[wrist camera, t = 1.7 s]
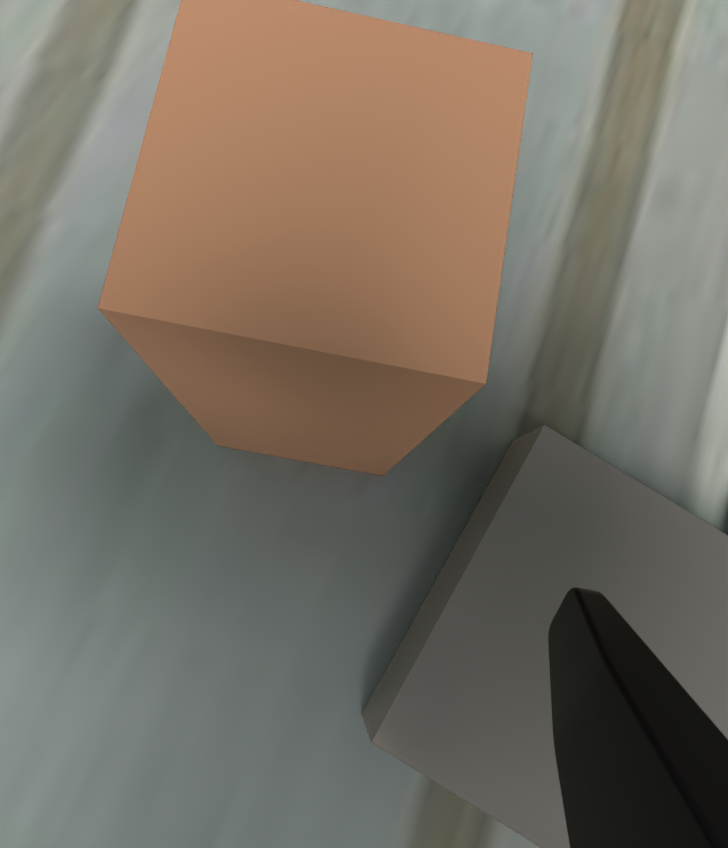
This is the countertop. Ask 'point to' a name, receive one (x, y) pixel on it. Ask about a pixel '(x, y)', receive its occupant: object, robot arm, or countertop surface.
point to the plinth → (545, 625)
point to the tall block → (319, 227)
